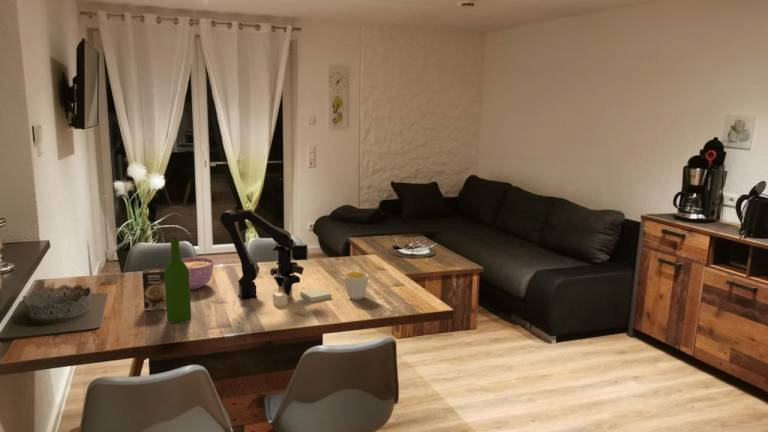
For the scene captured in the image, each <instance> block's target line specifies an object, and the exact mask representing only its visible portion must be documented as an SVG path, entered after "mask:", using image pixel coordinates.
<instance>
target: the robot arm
mask: <svg viewBox="0 0 768 432" xmlns="http://www.w3.org/2000/svg"><path fill="white" fill-rule="evenodd" d="M246 220H247V222H248V221H249V222H250V223H251V224H253V225H254V226H256V227H257V228H259V229H261V230H262V231H263V232H265V233H266V234H268V235H269V236H270V237H271V238H272V240H273V241H275V243H276V245H275V246H274V247H273V249H272V251H273V252H274V251H276V252H277V261H276V263H275V265H277V267H272V268H271V269H270V271H269V273H270V275H271V276H272V277H273V279H274V281H275V282H276V285H277V286H283V288H284V291H285V294H287V296H289V293H290V290H291V287H292V288H293V285H294V284H300V282H301V277H300V276H298V275H301V276H302V275H303V272H304V269H305V268H304V267H303V266H301V265H299V264H298V262H295V261H309V249H308V248H309V247H308V244H296V242H295V241H294V239H293V238H292V234H291V232H289V231H288V230H285V229H283V228H282V227H278V226H275V225H274V224H272V223H271V222H269V221H268V220H266V219H265V218H263V217H262V216H260V215H259V214H257V213H256V212H255V211H253V210H252V209H251V208H249V209H248V208H247V209H241V210H240V209H239V210H233V209H228V210H226V211H224V212H223V213H222V214H221V215H220V217H219V221H220V223H221V224H222V226H223V228H224V229H225V230H226V231H227V232H228V234H229V236H230V239H231V241H232V243H233V245H234V248H235V251H236V254H237V256H238V258H239V260H240V263H241V271H242V276H241V277H240V279H239V280H238V290H239V292H238V293H239V294H237V296H238V297H239V298H241V299H242V300H248V299H253V298H258V295H257V285H256V282H255V280H256V279H257V278H258V275H259V274H260V268H261V267H260V266H259V265H258V261H257V260H253V259H252V258H251V255H250V253H249V251H248V249H247V246H246V243H245V241H244V238H243V236H242V233H241V231H240V229H239V222H241V221H246ZM292 259H293V260H294V261H292Z"/></svg>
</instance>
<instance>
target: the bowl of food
mask: <svg viewBox="0 0 768 432" xmlns="http://www.w3.org/2000/svg"><path fill="white" fill-rule="evenodd" d="M181 260H182V261H183V262H184V263H185V265H186V266H187V267H188V270H189V285H190V289H192V290H198V289H200V287H201V288H202V287H203V286H205V285H207V284H208V283H209V282H210V280H211V279H212V275H213V270H214V265H215V260H214V259H211V258H209V257H187V258H185V257H184V258H181ZM197 288H198V289H197Z"/></svg>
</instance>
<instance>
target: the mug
mask: <svg viewBox="0 0 768 432" xmlns="http://www.w3.org/2000/svg"><path fill="white" fill-rule="evenodd" d="M344 277H345V287H346V291H347V296H348V297H349V299H351V300H354V301H355V300H356V301H359V300H363V299H364V297H365V296H367V295H366V294H367V287H368V284H369V283H368V281H369V274H368V273H366V272H360V271H358V272H357V271H353V272H347V273H346V274H345V276H344Z"/></svg>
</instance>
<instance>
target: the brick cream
mask: <svg viewBox="0 0 768 432" xmlns="http://www.w3.org/2000/svg"><path fill="white" fill-rule="evenodd" d="M272 298H273V299H272V304H273V305H275V306H276V307H281V306H286V305H288V298H287V294H285V293H284V292H279V293H278V292H274V293H272Z"/></svg>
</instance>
